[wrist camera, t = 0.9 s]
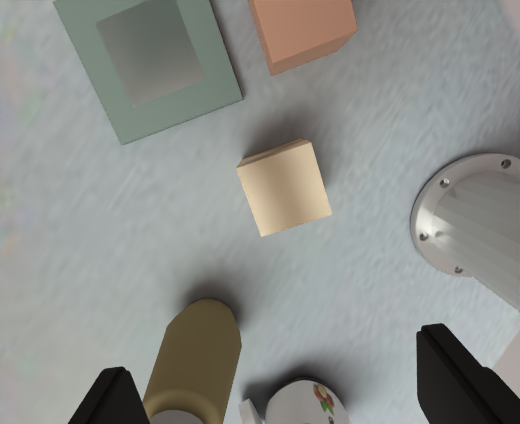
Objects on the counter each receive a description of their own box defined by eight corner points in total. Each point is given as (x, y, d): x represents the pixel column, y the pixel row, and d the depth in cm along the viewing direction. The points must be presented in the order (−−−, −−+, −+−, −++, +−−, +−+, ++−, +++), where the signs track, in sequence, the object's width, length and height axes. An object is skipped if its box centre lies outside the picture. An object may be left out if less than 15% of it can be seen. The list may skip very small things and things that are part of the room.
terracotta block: (317, -28, 23) (334, -76, 18) (336, 50, 25) (357, 29, 19) (248, 2, 24) (242, -36, 18) (271, 76, 26) (272, 63, 20)
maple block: (301, 137, 27) (311, 142, 21) (319, 196, 29) (332, 214, 23) (242, 158, 28) (236, 168, 22) (262, 214, 30) (261, 236, 24)
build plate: (191, -53, 23) (187, -61, 22) (243, 99, 26) (242, 98, 25) (60, 6, 24) (52, 1, 23) (126, 144, 28) (121, 144, 27)
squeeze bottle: (224, 357, 35) (185, 584, 18) (163, 329, 34) (59, 542, 17) (256, 308, 33) (246, 512, 16) (192, 277, 32) (106, 459, 15)
